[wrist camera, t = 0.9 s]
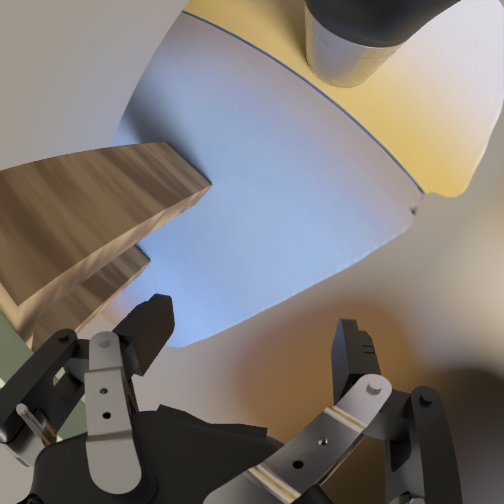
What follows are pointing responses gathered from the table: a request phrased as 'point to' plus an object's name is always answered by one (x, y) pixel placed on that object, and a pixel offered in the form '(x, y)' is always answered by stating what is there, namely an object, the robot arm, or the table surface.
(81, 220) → the oak bridge
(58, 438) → the pale green bar
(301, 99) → the table surface
